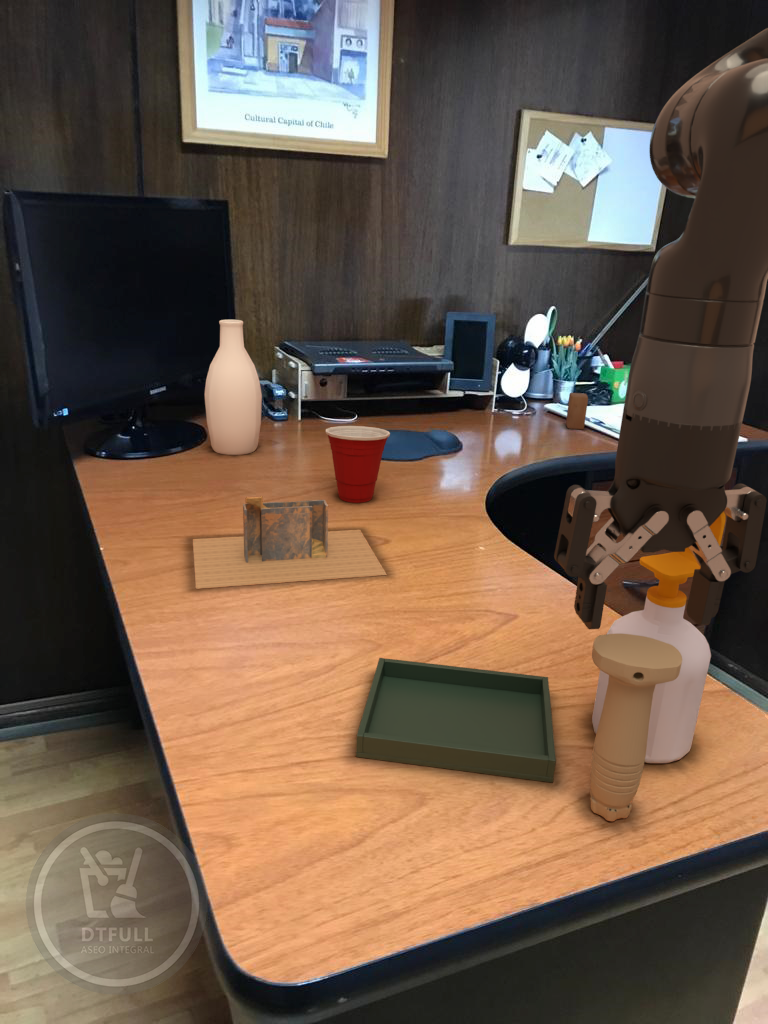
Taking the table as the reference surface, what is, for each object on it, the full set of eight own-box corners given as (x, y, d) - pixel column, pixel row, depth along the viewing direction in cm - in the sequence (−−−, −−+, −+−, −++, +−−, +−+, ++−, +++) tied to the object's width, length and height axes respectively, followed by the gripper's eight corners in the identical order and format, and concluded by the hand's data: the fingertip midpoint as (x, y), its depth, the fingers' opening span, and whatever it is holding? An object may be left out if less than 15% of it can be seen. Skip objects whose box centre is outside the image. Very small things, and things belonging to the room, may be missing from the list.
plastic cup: (390, 489, 137) (393, 423, 133) (383, 510, 127) (386, 439, 123) (330, 484, 138) (331, 419, 134) (318, 505, 128) (319, 434, 124)
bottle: (262, 456, 152) (260, 325, 143) (204, 457, 151) (199, 324, 142) (262, 441, 163) (260, 318, 154) (208, 441, 161) (203, 316, 152)
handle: (652, 838, 61) (686, 673, 55) (569, 823, 62) (594, 660, 57) (646, 796, 65) (677, 640, 60) (568, 783, 66) (592, 629, 61)
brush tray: (545, 696, 79) (548, 676, 78) (552, 782, 66) (556, 760, 65) (378, 676, 81) (379, 657, 80) (355, 757, 68) (356, 735, 68)
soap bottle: (572, 717, 75) (608, 477, 67) (647, 699, 79) (691, 469, 70) (632, 775, 68) (682, 513, 59) (712, 753, 71) (770, 502, 62)
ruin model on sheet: (195, 588, 98) (192, 517, 94) (192, 539, 113) (189, 475, 109) (386, 574, 104) (390, 507, 100) (360, 529, 119) (362, 469, 115)
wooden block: (566, 428, 184) (571, 395, 182) (565, 424, 188) (569, 392, 185) (583, 430, 184) (588, 396, 181) (582, 426, 188) (586, 393, 185)
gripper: (748, 396, 56) (705, 596, 62) (561, 394, 54) (534, 601, 60) (816, 422, 49) (761, 645, 55) (604, 420, 47) (570, 652, 53)
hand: (643, 622), depth 57 cm, fingers open, 8 cm apart
